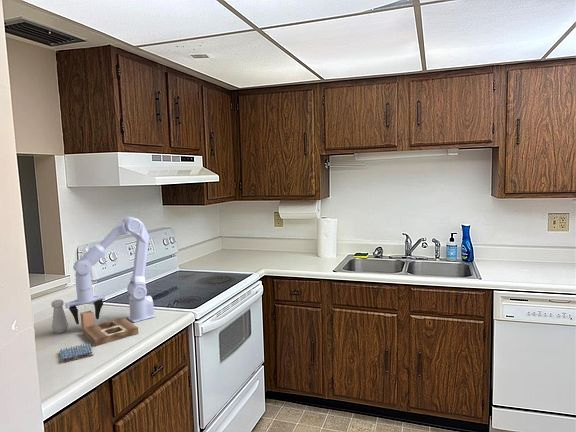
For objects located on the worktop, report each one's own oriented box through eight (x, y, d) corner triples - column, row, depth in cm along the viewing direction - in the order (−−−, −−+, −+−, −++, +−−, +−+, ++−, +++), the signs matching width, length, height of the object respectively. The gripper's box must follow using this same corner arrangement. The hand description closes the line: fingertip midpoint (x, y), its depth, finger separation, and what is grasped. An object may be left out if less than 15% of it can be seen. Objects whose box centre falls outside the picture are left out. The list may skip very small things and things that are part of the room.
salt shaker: (71, 328, 175) (68, 298, 173) (64, 333, 169) (61, 302, 167) (56, 329, 175) (53, 298, 173) (49, 334, 169) (46, 303, 167)
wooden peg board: (124, 323, 178) (123, 317, 178) (138, 333, 166) (138, 327, 166) (83, 334, 168) (82, 327, 168) (95, 346, 156) (95, 339, 156)
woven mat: (90, 346, 157) (90, 341, 157) (94, 357, 148) (94, 351, 148) (59, 354, 152) (58, 348, 151) (60, 365, 143) (60, 359, 142)
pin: (92, 326, 176) (90, 310, 175) (95, 329, 173) (93, 312, 172) (81, 329, 173) (80, 312, 172) (84, 332, 170) (83, 315, 169)
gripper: (100, 283, 179) (102, 314, 180) (62, 290, 169) (65, 323, 171) (105, 286, 173) (108, 318, 175) (66, 294, 164) (70, 328, 166)
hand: (87, 321), depth 173 cm, fingers open, 7 cm apart
